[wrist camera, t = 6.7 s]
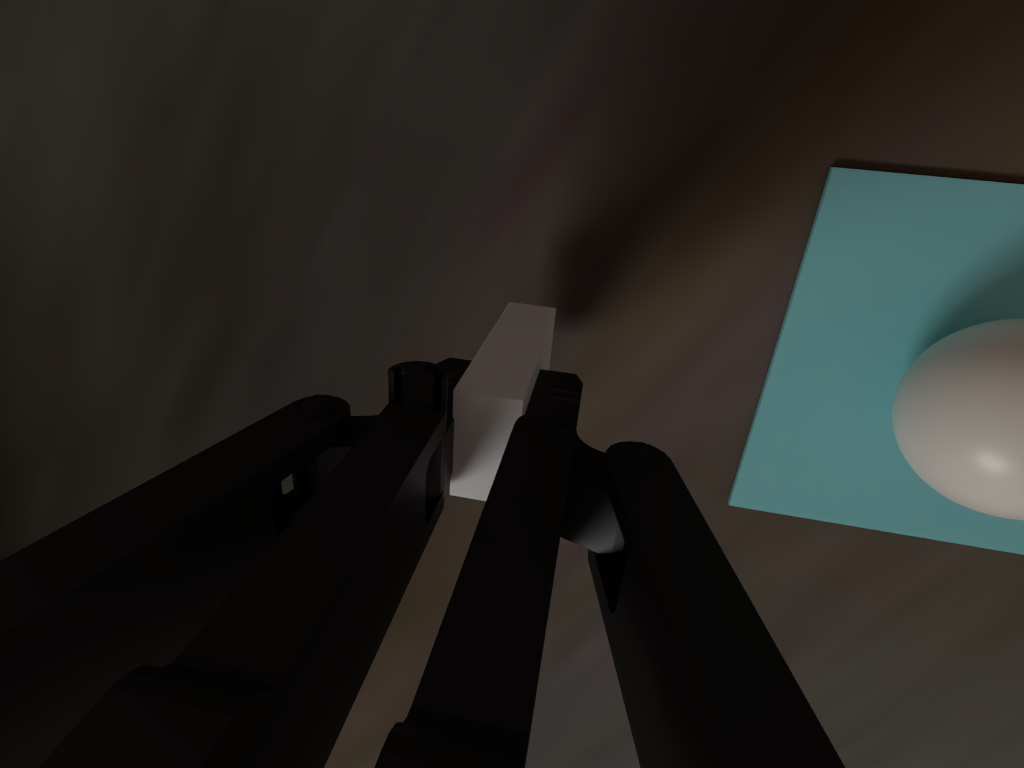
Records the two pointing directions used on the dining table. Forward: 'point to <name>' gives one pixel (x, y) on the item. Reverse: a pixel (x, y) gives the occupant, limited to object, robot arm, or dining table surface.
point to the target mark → (879, 349)
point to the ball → (968, 417)
